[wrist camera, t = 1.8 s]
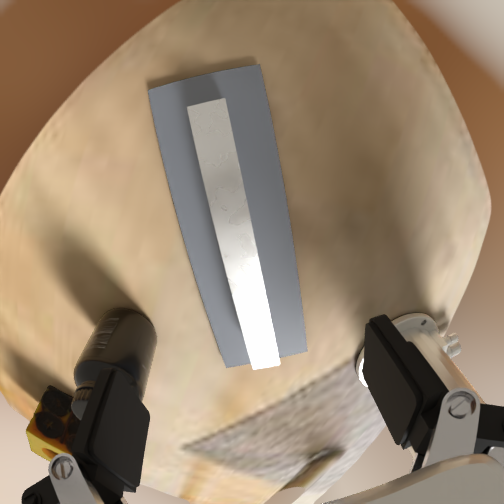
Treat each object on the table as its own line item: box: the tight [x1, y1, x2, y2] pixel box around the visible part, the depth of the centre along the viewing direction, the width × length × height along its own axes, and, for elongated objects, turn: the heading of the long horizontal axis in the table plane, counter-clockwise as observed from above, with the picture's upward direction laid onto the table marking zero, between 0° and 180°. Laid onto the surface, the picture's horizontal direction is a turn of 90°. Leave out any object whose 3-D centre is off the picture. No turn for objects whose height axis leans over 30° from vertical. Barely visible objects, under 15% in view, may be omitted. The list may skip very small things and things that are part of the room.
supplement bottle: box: [71, 308, 157, 420], centre depth 23 cm, size 7×7×12 cm
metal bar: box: [187, 98, 280, 370], centre depth 22 cm, size 2×22×4 cm, turn 11°
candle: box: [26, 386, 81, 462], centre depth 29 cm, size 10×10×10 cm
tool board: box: [148, 64, 307, 368], centre depth 25 cm, size 9×28×1 cm, turn 11°
